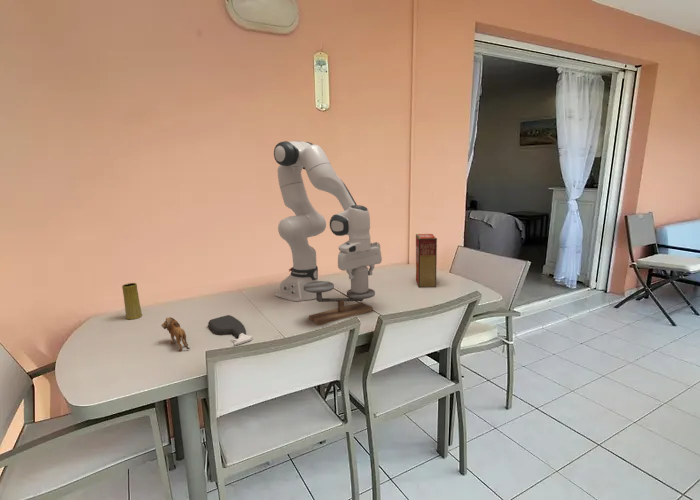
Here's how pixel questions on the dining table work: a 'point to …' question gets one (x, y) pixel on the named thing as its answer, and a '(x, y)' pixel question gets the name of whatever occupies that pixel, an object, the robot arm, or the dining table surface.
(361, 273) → the can
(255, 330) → the dining table surface
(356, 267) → the robot arm
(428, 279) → the food packaging
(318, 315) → the scale
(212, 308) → the dining table surface
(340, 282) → the dining table surface
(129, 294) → the vase
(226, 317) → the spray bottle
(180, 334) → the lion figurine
